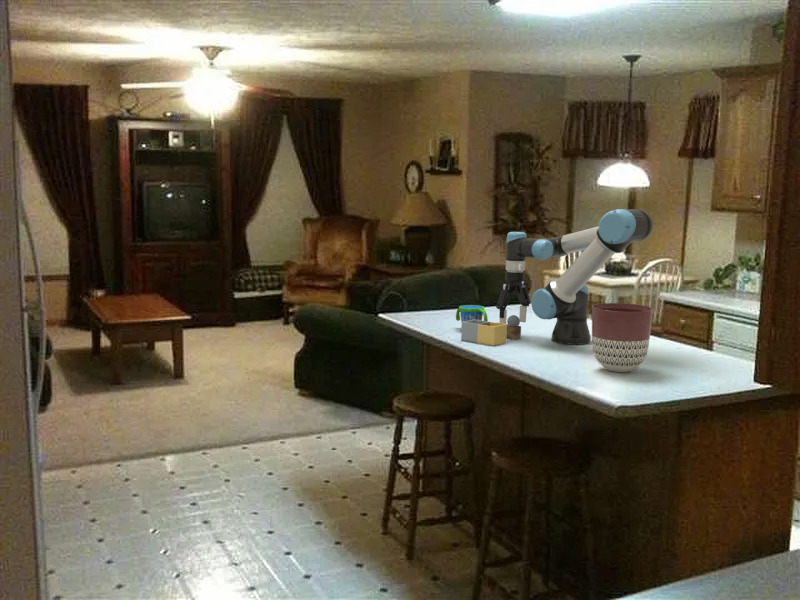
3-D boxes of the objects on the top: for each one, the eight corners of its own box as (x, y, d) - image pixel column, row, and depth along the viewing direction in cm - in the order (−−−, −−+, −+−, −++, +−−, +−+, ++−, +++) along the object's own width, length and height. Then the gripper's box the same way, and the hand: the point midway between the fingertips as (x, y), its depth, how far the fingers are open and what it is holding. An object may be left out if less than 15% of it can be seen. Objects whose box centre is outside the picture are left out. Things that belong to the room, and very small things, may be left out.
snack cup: (449, 329, 350) (449, 305, 349) (467, 326, 357) (467, 303, 356) (475, 334, 338) (475, 310, 337) (493, 331, 345) (494, 307, 344)
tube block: (506, 343, 321) (506, 324, 320) (493, 346, 315) (494, 326, 314) (474, 337, 331) (474, 319, 330) (461, 340, 325) (461, 321, 324)
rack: (520, 338, 331) (521, 326, 330) (514, 339, 328) (515, 327, 327) (496, 334, 339) (496, 322, 338) (490, 335, 336) (490, 323, 335)
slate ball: (522, 327, 331) (522, 315, 330) (514, 329, 327) (515, 316, 326) (511, 326, 334) (512, 313, 333) (504, 327, 330) (504, 315, 330)
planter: (613, 379, 263) (616, 313, 260) (577, 367, 281) (579, 304, 278) (661, 374, 271) (665, 310, 268) (623, 362, 289) (626, 301, 286)
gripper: (525, 268, 339) (522, 319, 342) (488, 272, 321) (486, 326, 324) (540, 269, 334) (538, 321, 337) (504, 274, 316) (502, 329, 319)
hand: (512, 323), depth 330 cm, fingers open, 13 cm apart
